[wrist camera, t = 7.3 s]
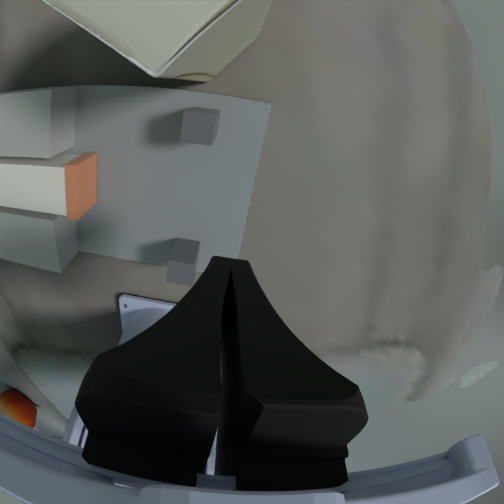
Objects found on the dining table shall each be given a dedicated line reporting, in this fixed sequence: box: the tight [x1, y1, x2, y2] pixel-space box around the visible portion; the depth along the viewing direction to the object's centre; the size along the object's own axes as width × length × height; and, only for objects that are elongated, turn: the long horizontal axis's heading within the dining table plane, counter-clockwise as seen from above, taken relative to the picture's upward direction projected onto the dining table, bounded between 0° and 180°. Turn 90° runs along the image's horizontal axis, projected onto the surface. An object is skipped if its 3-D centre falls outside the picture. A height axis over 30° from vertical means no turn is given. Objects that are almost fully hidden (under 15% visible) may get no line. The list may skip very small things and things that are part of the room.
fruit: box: [0, 389, 41, 428], centre depth 34 cm, size 8×8×8 cm
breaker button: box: [0, 152, 97, 221], centre depth 16 cm, size 3×8×3 cm, turn 79°
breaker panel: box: [0, 85, 272, 286], centre depth 17 cm, size 12×21×4 cm, turn 79°
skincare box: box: [42, 0, 273, 82], centre depth 9 cm, size 6×4×12 cm
